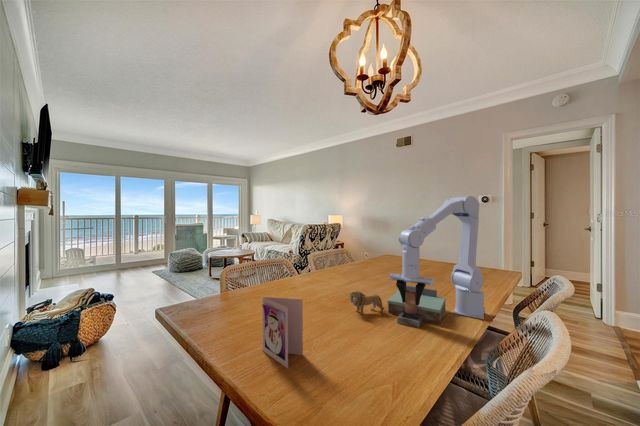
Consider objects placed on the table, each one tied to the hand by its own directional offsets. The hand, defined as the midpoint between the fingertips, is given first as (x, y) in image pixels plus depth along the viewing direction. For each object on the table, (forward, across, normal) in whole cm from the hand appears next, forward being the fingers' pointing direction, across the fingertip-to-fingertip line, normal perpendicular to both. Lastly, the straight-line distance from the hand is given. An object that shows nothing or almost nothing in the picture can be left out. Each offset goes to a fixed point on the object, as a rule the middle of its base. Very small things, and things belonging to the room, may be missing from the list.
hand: (410, 303), depth 90 cm
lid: (+2, 0, +10) cm, 10 cm away
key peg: (+3, 0, 0) cm, 3 cm away
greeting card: (+6, -24, -40) cm, 47 cm away
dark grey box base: (+6, 0, +7) cm, 9 cm away
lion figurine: (+7, -16, -1) cm, 17 cm away
